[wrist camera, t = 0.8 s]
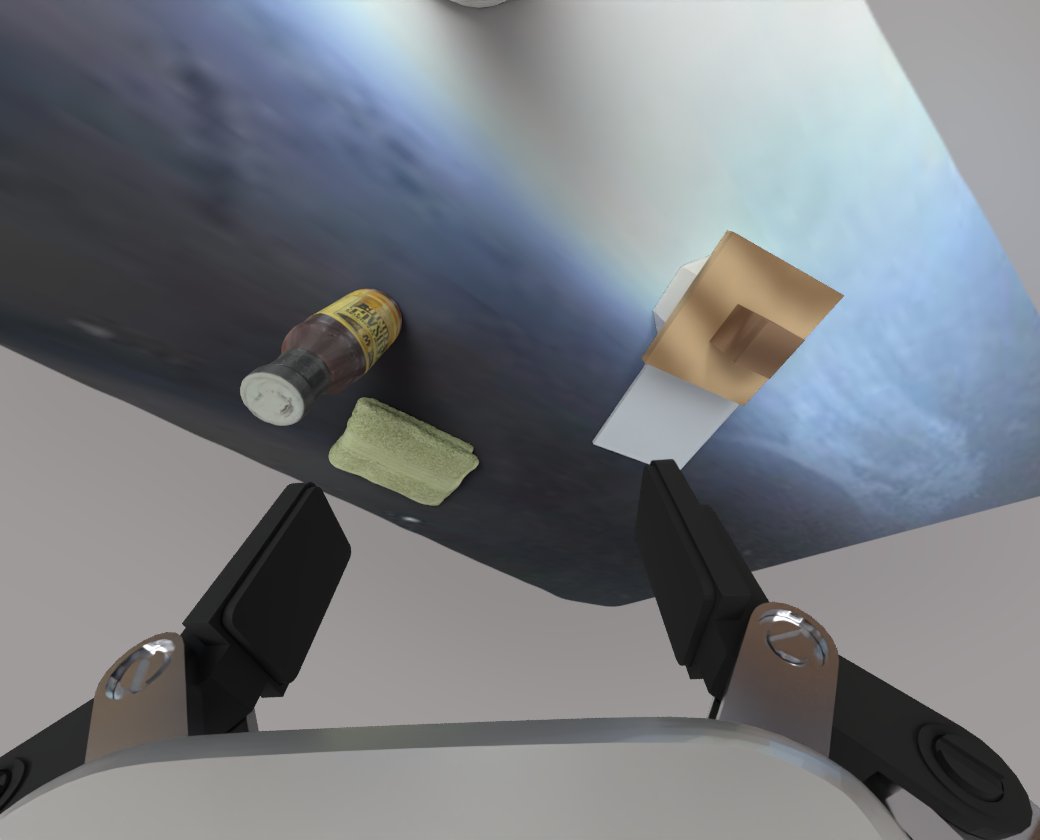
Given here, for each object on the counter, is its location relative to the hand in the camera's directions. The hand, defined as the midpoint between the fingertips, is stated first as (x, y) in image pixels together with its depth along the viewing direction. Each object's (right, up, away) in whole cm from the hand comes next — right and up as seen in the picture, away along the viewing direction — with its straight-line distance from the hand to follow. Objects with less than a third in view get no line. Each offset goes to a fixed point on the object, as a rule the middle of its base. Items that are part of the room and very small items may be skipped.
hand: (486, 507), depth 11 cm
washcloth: (-15, -2, +41) cm, 44 cm away
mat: (+20, +3, +38) cm, 43 cm away
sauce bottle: (-15, +15, +30) cm, 36 cm away
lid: (+22, +12, +26) cm, 36 cm away
